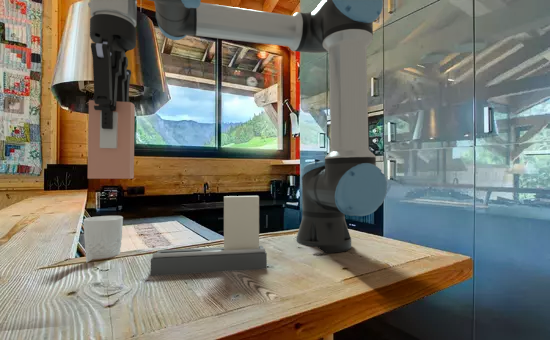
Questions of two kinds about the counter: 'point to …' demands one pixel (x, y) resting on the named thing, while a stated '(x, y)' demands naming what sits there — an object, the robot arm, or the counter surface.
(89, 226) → the white cup
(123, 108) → the panel
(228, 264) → the grey stand base
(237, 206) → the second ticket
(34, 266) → the counter surface
